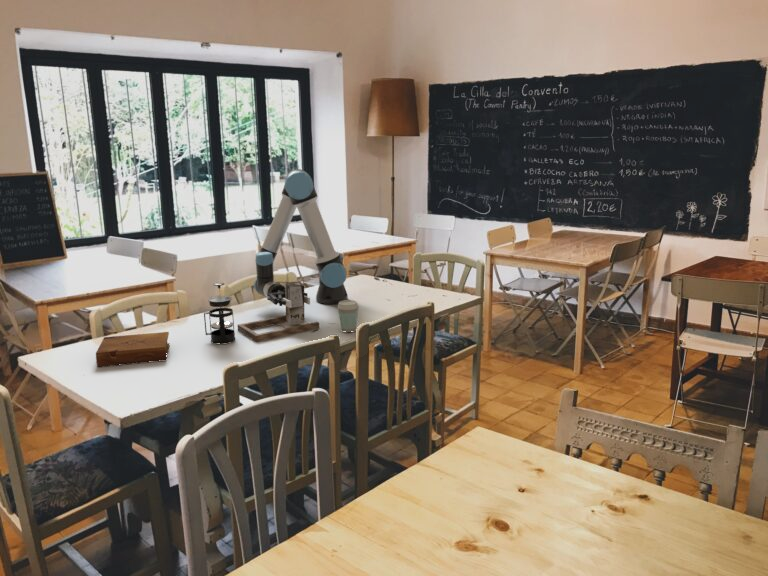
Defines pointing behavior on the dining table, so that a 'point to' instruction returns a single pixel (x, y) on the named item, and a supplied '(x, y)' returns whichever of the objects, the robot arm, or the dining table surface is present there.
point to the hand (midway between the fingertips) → (300, 302)
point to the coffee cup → (348, 315)
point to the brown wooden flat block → (132, 349)
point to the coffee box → (295, 302)
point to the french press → (220, 319)
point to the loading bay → (277, 333)
